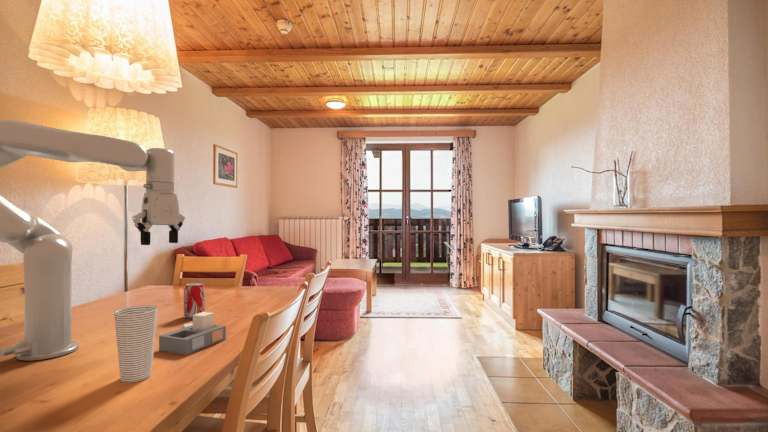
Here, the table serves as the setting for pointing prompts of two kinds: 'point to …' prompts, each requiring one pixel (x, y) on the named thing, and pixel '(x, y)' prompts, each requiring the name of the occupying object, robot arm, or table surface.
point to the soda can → (194, 299)
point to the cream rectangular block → (203, 321)
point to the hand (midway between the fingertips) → (160, 243)
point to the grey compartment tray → (191, 339)
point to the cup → (135, 341)
